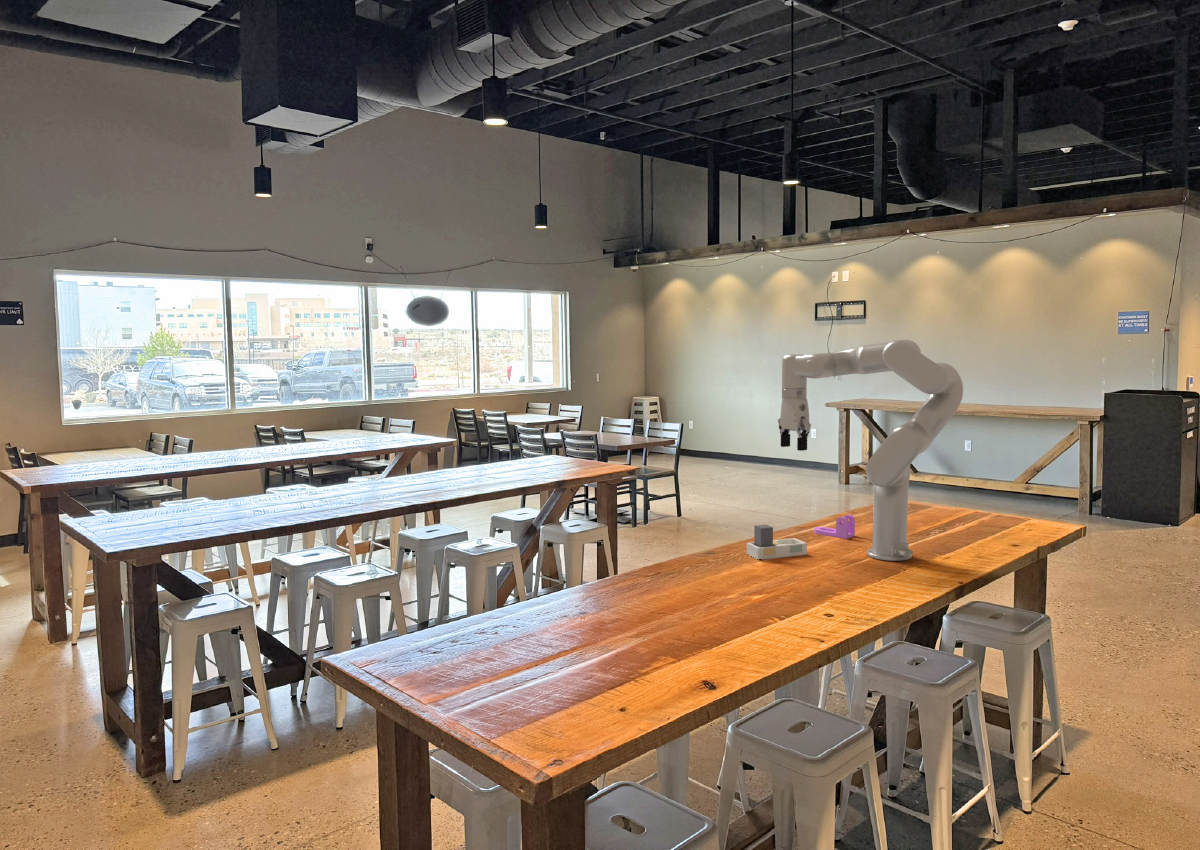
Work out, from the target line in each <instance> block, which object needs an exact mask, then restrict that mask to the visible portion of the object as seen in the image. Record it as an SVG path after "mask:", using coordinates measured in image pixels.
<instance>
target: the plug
mask: <svg viewBox="0 0 1200 850" xmlns="http://www.w3.org/2000/svg"><path fill="white" fill-rule="evenodd" d="M753 536H754V540H753V541H754V545H755V546H758V547H770V546H773V540H774V527H773V526H771V525H769V524H759V525H758V524H757V525H754V535H753Z"/></svg>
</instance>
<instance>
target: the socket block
mask: <svg viewBox="0 0 1200 850" xmlns="http://www.w3.org/2000/svg"><path fill="white" fill-rule="evenodd" d="M747 554H749V555H750V556H749V555H748V556H749V557H751V556H752V557H751V558H753V557H754V558H753V559H755V558H756V559H755V560H757V559H758V560H757V561H760V560H759V559H762V560H769V559H780V558H788V557H797V556H805V555H807V554H808V543H807V542H805V541H803V540H800V539H798V538H796V537H795V538H794V537H791V538H781V539H773V546H770V547H758V546H755V545H754V542H746V555H747Z"/></svg>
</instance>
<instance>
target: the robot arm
mask: <svg viewBox="0 0 1200 850" xmlns="http://www.w3.org/2000/svg"><path fill="white" fill-rule="evenodd" d="M885 372H886V373H887V372H893V373H894V374H896V375H897V376H899V377H900V378H901V379H903V380H904V381H906V382H907V383H908V384H910V385H911V386H913V387H914V388H916V389H917V390H919V391H920V392H922V393H924V394H926V395H928V397H927V398H926V400H925V401H924V402H923V403H922V404H921V405H920V407H919V408H918V409H917V411H916V412H915V413H914V414H913V415H912V417H911V418H909V419H908V421H907V422H905V423H903V424H900V425H899V426H897V427H895V428H894V429H893V430H891V432H889V434H888V435H887V437H886V438H885V439H884V440H883V442H882V443H881V444H880V445H879V447H878V448H877V449H876V450H875V451H874V453H872V455H871V456H870V458H869V459H868V460H867V463H866V466H865V475H866V478H867V480H868V481H869V482H870V483H871V484H873V485H874V489H873V506H872V507H873V508H872V510H873V511H872V512H873V513H872V515H873V516H872V547H870V548H868V549H866V554H867V556H868V557H870V558H873V559H877V560H882V561H893V562H894V561H895V562H899V561H900V562H902V561H907V560H910V559H912V557H913V554H914V550H912V549H910V548H909V543H908V540H907V539H908V506H909V488H910V487H909V486H910V485H909V484H910V480H911V479H910V478H911V464H912V463H913V462H914V461H915V459H916V458H917V457H918V456H919V455H921V454H923V453H924V452H925V451H926V450H927V449H928V448H929V447H930V445H931V444H932V443H933V442H934V440H935V438H936V437H938V435H940V432H941V431H942V430H943V429H944V428H945V426H946V425H947V423H949V421H950V420H952V417H954V415H955V414H956V412H957V411H958V409H959V407H960V405H961V403H962V400H963V396H964V384H963V381H962V377H961V375H960V373H959V372H958V371H957V370H956V368H954V367H953V366H952V365H951V364H949V363H945V362H937V363H936V362H934V361H933V360H932V359H930V358H929V357H927V356H926V355H924V354H923V353H922V352H921V349H920V346H919V345H918V344H917V343H916V342H915V341H913V340H909V339H897V340H892V341H886V342H879V343H872V344H864V345H860V346H858V347H856V348H853V349H847V350H841V351H834V352H826V353H825V352H824V353H823V352H822V353H812V354H801V353H800V354H799V353H798V354H793V353H792V354H785V355H783V356H782V359H781V404H780V405H781V406H780V417H779V418H778V419H777V422H778V429H779V434H780V447H781V448H785V447H786V448H787V447H791V434H790V432H791V431H792V432H793V431H794V432H796V434H797V436H798V437H797V438H796V439H797V441H796V442H797V443H796V445H797V446H796V448H797V449H796V450H797V451H802V452H803V451H807V450H808V438H809V434H810V430H811V427H812V424H811V423H810V409H809V402H808V399H807V396H808V395H807V389H808V388H807V383H808V381H807V379H813V380H814V379H822V378H830V377H831V378H832V377H838V376H839V377H840V376H846V375H868V374H870V375H871V374H878V373H885Z"/></svg>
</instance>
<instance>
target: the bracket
mask: <svg viewBox="0 0 1200 850" xmlns="http://www.w3.org/2000/svg"><path fill="white" fill-rule="evenodd" d="M813 533H814V534H816V535H820V536H821V535H822V536H828V537H833V538H840V539H843V540H844V539H845V540H848V539H850V538H853V537H855V536H856V520H855V517H854V516H853V515H852V514H846V515H844V516H840V517H838V518H837V519H836V520H835V528H832V527H826V526H816V527H813Z"/></svg>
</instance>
